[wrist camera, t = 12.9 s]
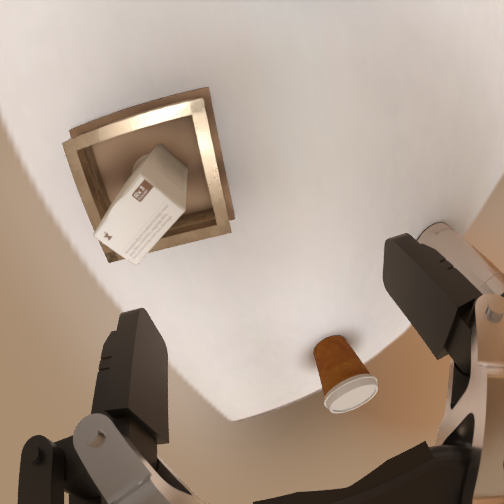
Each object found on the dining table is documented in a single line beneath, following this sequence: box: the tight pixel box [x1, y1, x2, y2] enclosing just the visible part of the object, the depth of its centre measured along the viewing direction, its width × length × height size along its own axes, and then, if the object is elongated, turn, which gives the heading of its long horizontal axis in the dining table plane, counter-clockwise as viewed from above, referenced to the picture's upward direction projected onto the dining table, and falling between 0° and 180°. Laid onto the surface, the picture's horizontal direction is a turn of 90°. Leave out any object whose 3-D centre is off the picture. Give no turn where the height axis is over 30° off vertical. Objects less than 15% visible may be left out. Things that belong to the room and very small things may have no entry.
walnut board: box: [69, 87, 235, 221], centre depth 30 cm, size 15×15×1 cm
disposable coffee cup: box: [314, 336, 378, 413], centre depth 47 cm, size 10×10×12 cm
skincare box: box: [94, 144, 188, 265], centre depth 24 cm, size 6×4×12 cm
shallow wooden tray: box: [62, 96, 232, 263], centre depth 28 cm, size 13×13×4 cm
